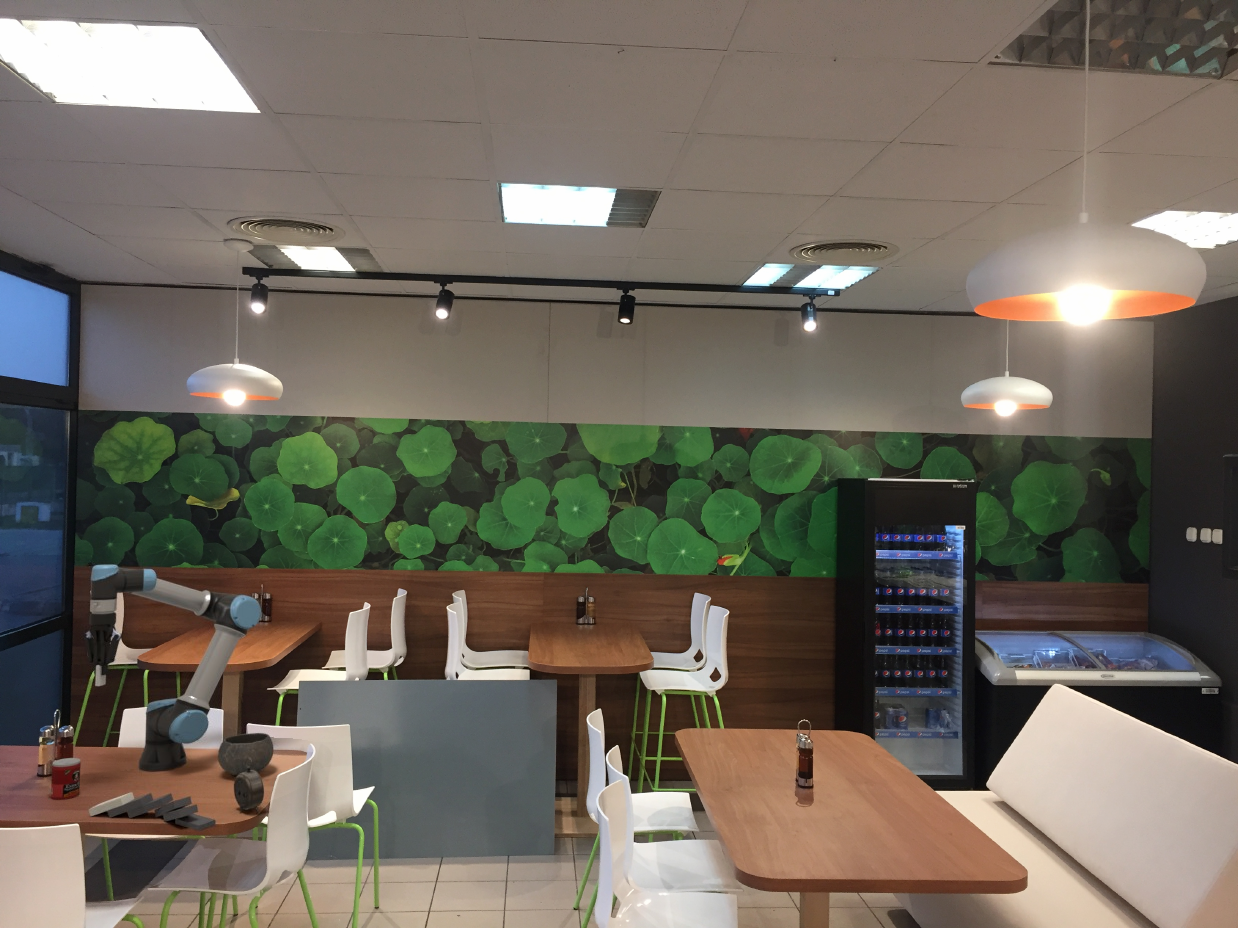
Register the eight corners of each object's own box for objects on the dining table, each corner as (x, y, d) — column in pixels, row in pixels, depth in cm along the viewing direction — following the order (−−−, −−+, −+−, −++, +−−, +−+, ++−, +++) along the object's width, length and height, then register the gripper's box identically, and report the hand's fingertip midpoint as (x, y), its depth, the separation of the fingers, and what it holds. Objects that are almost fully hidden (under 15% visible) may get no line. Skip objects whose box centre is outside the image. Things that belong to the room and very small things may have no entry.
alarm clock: (264, 813, 264) (266, 758, 265) (247, 817, 260) (249, 762, 261) (246, 804, 271) (248, 752, 272) (229, 809, 267) (231, 755, 268)
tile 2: (107, 810, 259) (140, 798, 258) (118, 804, 264) (151, 792, 264) (109, 817, 259) (142, 805, 258) (120, 811, 264) (153, 799, 264)
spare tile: (88, 809, 260) (120, 797, 259) (100, 803, 265) (132, 791, 264) (90, 816, 260) (122, 804, 259) (102, 809, 265) (134, 798, 264)
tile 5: (162, 813, 257) (178, 809, 250) (180, 808, 261) (196, 803, 254) (164, 821, 256) (180, 817, 250) (182, 815, 261) (198, 811, 254)
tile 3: (127, 811, 259) (161, 798, 259) (137, 805, 264) (171, 792, 264) (129, 818, 259) (163, 805, 258) (139, 812, 264) (173, 799, 264)
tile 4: (154, 809, 260) (173, 800, 255) (171, 804, 265) (190, 795, 259) (155, 817, 260) (174, 808, 254) (172, 812, 264) (191, 803, 259)
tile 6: (175, 818, 255) (199, 825, 250) (191, 812, 259) (215, 819, 254) (175, 826, 255) (199, 833, 249) (191, 820, 259) (215, 827, 254)
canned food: (65, 800, 273) (67, 765, 274) (44, 798, 275) (45, 763, 275) (85, 793, 281) (86, 758, 281) (64, 791, 282) (65, 756, 283)
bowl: (226, 785, 290) (228, 746, 290) (210, 772, 303) (211, 736, 304) (280, 775, 301) (281, 738, 302) (262, 763, 315) (263, 727, 316)
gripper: (76, 613, 282) (73, 686, 281) (113, 614, 280) (110, 688, 279) (93, 610, 289) (90, 681, 288) (129, 611, 287) (126, 683, 286)
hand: (100, 684), depth 283 cm, fingers closed
